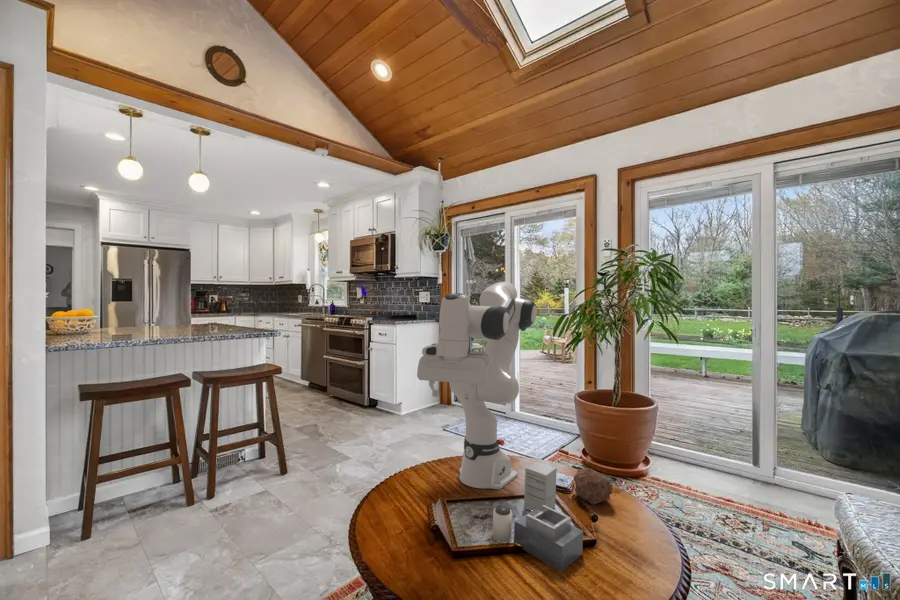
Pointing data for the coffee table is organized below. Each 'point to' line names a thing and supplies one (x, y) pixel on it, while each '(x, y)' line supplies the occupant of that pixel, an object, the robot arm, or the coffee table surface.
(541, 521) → the grey socket block
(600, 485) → the decorative rock
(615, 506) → the coffee table surface
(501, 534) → the cream cylinder
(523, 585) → the coffee table surface
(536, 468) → the supplement box
